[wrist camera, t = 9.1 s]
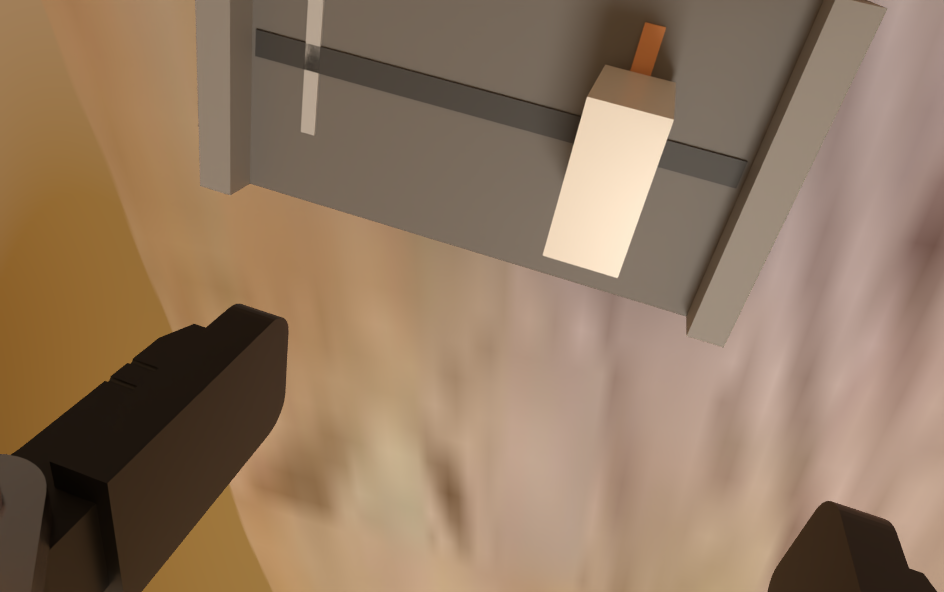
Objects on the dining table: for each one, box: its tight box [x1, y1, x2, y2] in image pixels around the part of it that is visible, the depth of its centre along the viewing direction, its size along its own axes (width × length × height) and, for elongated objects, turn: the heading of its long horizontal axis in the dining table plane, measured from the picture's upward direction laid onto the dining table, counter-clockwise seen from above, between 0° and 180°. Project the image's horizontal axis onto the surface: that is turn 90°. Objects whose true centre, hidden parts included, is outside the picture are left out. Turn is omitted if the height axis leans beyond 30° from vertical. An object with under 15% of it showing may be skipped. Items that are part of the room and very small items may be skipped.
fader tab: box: [543, 65, 676, 278], centre depth 21 cm, size 5×2×5 cm, turn 168°
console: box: [195, 0, 887, 348], centre depth 25 cm, size 12×22×4 cm, turn 78°
